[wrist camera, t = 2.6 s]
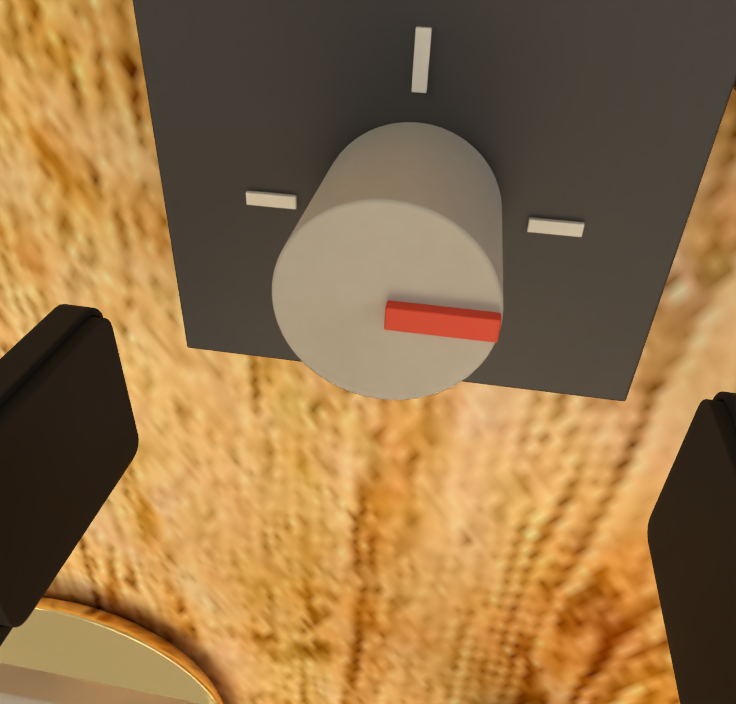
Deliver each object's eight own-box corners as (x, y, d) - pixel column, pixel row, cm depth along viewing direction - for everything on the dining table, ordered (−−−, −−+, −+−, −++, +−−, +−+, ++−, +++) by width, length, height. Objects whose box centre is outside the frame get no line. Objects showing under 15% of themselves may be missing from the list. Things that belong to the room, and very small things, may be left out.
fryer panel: (217, 301, 24) (184, 351, 21) (176, -51, 17) (121, -41, 15) (612, 346, 22) (626, 406, 20) (725, -23, 16) (768, -5, 13)
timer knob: (322, 281, 19) (272, 395, 15) (321, 113, 16) (259, 194, 12) (487, 299, 19) (485, 423, 14) (515, 129, 16) (523, 219, 12)
